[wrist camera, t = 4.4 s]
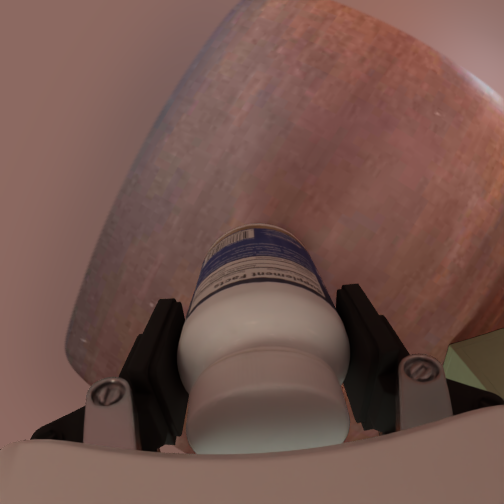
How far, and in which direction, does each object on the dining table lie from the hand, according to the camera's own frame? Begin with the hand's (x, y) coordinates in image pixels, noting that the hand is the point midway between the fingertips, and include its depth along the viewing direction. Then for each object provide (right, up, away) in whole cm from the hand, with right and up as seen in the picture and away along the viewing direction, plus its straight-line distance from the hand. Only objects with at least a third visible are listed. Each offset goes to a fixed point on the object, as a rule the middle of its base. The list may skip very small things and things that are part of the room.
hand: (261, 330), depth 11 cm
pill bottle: (0, +2, +5) cm, 5 cm away
